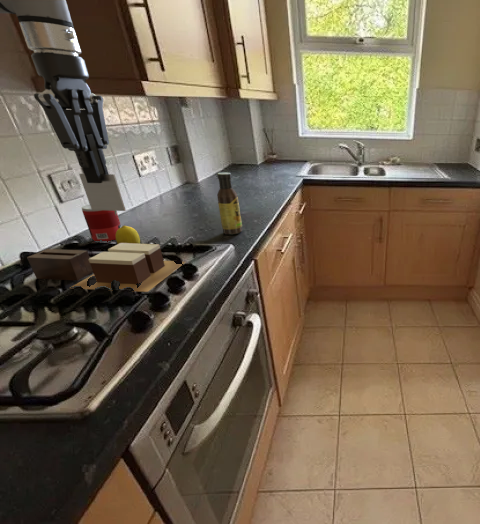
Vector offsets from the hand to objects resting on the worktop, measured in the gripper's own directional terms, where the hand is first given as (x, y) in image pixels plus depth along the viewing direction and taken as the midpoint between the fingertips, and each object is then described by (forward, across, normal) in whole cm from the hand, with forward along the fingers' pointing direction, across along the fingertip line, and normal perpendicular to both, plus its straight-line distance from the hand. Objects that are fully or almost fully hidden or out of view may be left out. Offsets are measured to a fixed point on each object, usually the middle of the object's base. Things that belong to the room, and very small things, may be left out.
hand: (99, 181), depth 71 cm
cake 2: (+23, +3, -1) cm, 23 cm away
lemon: (+24, +16, +11) cm, 31 cm away
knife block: (+24, -2, +14) cm, 28 cm away
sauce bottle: (+24, +35, -11) cm, 44 cm away
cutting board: (+24, 0, -1) cm, 24 cm away
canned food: (+24, +24, +24) cm, 42 cm away
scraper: (+6, 0, 0) cm, 6 cm away
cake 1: (+22, -3, -1) cm, 23 cm away
